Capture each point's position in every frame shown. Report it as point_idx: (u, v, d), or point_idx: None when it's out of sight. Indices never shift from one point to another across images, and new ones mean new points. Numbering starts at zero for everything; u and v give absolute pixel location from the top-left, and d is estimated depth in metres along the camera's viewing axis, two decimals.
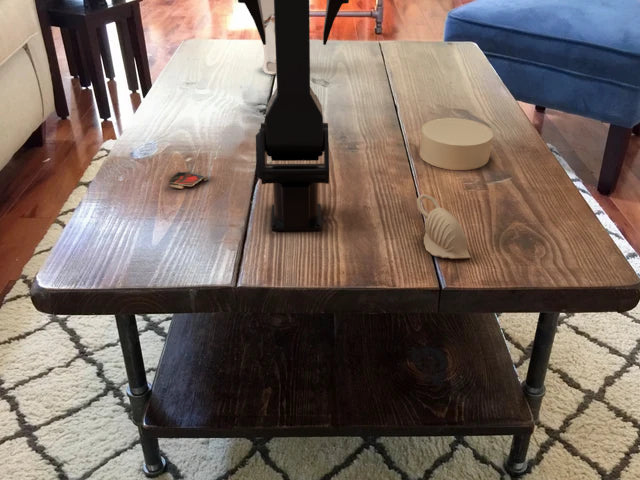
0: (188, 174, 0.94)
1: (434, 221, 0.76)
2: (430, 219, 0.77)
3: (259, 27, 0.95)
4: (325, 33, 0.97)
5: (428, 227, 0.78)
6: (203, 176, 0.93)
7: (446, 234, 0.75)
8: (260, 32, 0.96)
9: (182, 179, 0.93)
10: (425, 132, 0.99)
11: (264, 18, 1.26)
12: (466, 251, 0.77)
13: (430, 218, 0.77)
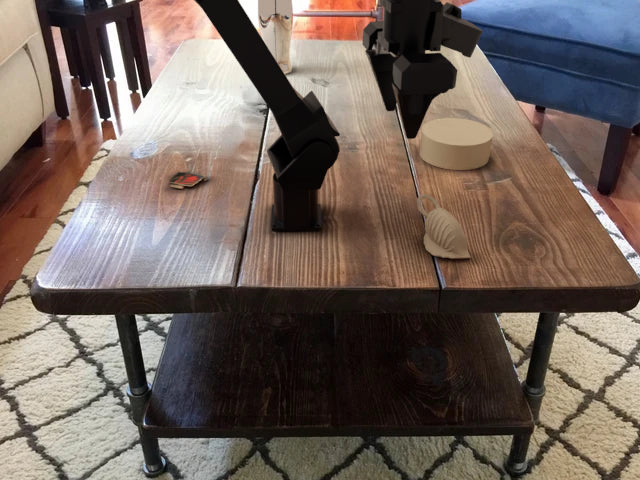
0: (188, 174, 0.94)
1: (434, 221, 0.76)
2: (430, 219, 0.77)
3: (379, 88, 0.82)
4: None
5: (428, 227, 0.78)
6: (203, 176, 0.93)
7: (446, 234, 0.75)
8: (381, 94, 0.83)
9: (182, 179, 0.93)
10: (425, 132, 0.99)
11: (264, 18, 1.26)
12: (466, 251, 0.77)
13: (430, 218, 0.77)
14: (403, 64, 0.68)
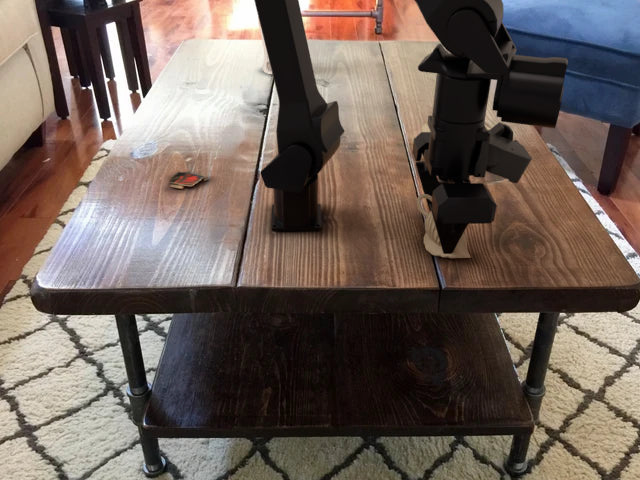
0: (188, 174, 0.94)
1: None
2: (430, 219, 0.77)
3: None
4: None
5: (428, 227, 0.78)
6: (203, 176, 0.93)
7: None
8: (428, 207, 0.81)
9: (182, 179, 0.93)
10: None
11: None
12: (466, 251, 0.77)
13: (430, 218, 0.77)
14: (441, 196, 0.67)
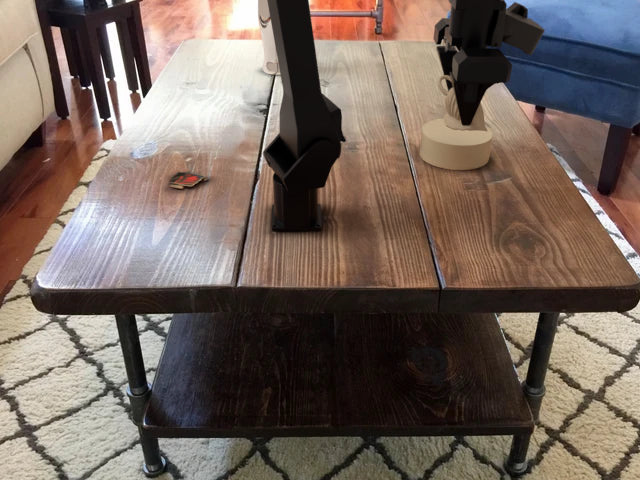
0: (188, 174, 0.94)
1: (454, 95, 0.83)
2: (450, 95, 0.83)
3: (446, 83, 0.87)
4: None
5: (448, 103, 0.84)
6: (203, 176, 0.93)
7: None
8: None
9: (182, 179, 0.93)
10: (425, 132, 0.99)
11: (264, 18, 1.26)
12: (483, 125, 0.84)
13: (450, 94, 0.83)
14: (461, 57, 0.73)
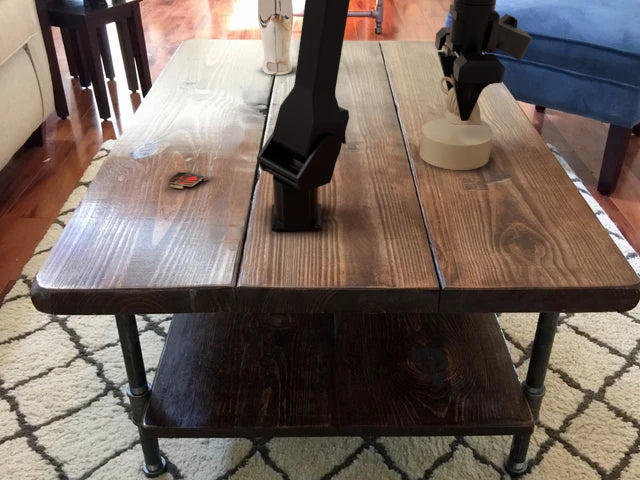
0: (188, 174, 0.94)
1: (454, 94, 0.95)
2: (451, 94, 0.96)
3: (446, 84, 0.99)
4: (458, 108, 0.93)
5: (449, 101, 0.96)
6: (203, 176, 0.93)
7: None
8: None
9: (182, 179, 0.93)
10: (425, 132, 0.99)
11: (264, 18, 1.26)
12: (479, 120, 0.96)
13: (450, 93, 0.96)
14: (461, 61, 0.86)
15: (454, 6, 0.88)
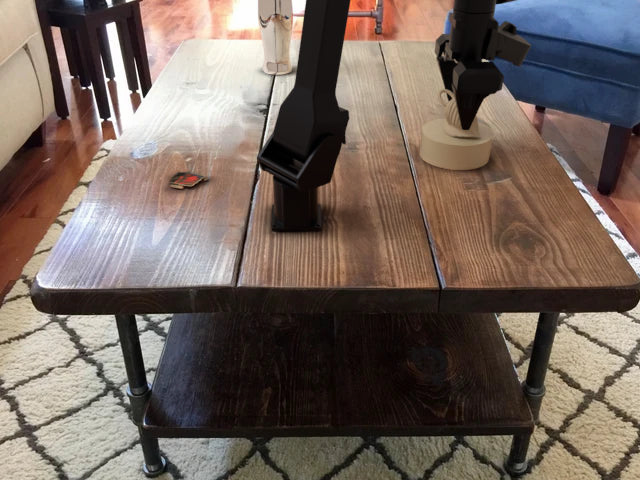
0: (188, 174, 0.94)
1: (452, 107, 0.96)
2: (449, 107, 0.97)
3: (445, 88, 1.01)
4: (459, 117, 0.93)
5: (447, 113, 0.97)
6: (203, 176, 0.93)
7: None
8: (446, 93, 1.01)
9: (182, 179, 0.93)
10: (425, 132, 0.99)
11: (264, 18, 1.26)
12: (478, 132, 0.97)
13: (449, 105, 0.97)
14: (460, 69, 0.86)
15: (453, 14, 0.89)
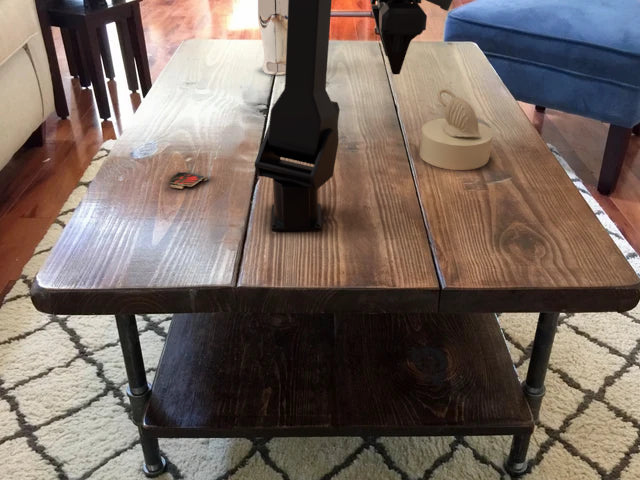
0: (188, 174, 0.94)
1: (452, 107, 0.96)
2: (449, 107, 0.97)
3: (380, 37, 1.02)
4: None
5: (447, 113, 0.97)
6: (203, 176, 0.93)
7: (462, 116, 0.95)
8: None
9: (182, 179, 0.93)
10: (425, 132, 0.99)
11: (264, 18, 1.26)
12: (478, 132, 0.97)
13: (449, 105, 0.97)
14: (384, 9, 0.88)
15: None
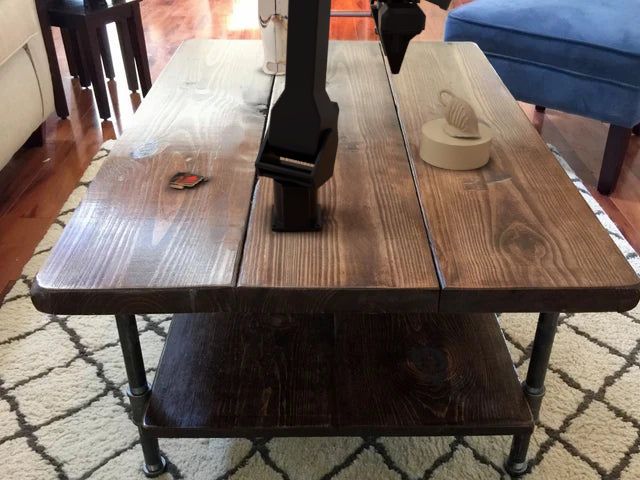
0: (188, 174, 0.94)
1: (452, 107, 0.96)
2: (449, 107, 0.97)
3: (379, 36, 1.02)
4: None
5: (447, 113, 0.97)
6: (203, 176, 0.93)
7: (462, 116, 0.95)
8: None
9: (182, 179, 0.93)
10: (425, 132, 0.99)
11: (264, 18, 1.26)
12: (478, 132, 0.97)
13: (449, 105, 0.97)
14: (384, 9, 0.88)
15: None
